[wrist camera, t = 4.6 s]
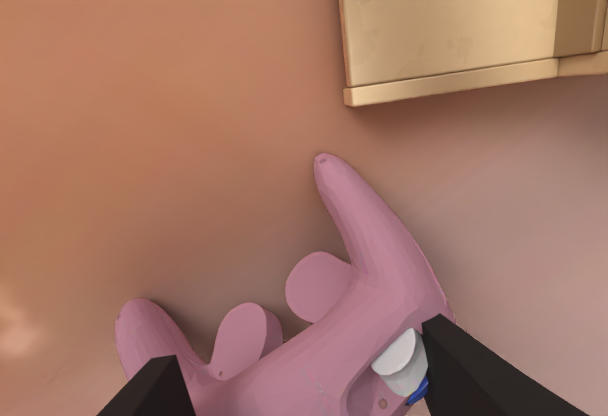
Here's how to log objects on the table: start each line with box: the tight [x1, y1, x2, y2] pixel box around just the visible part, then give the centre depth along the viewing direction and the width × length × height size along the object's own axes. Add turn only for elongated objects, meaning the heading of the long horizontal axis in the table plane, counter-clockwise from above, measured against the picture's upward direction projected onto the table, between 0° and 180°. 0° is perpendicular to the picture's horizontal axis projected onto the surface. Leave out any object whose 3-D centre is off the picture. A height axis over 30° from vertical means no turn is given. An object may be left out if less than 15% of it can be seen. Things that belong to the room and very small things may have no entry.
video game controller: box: [115, 153, 456, 416], centre depth 10 cm, size 10×5×7 cm, turn 128°
